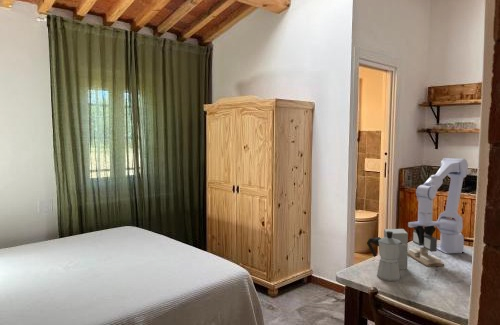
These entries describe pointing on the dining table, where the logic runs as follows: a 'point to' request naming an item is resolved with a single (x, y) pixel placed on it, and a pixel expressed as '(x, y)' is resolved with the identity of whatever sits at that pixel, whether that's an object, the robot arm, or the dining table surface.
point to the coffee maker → (387, 256)
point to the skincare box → (403, 237)
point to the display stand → (424, 257)
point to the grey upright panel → (426, 241)
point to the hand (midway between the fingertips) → (424, 242)
